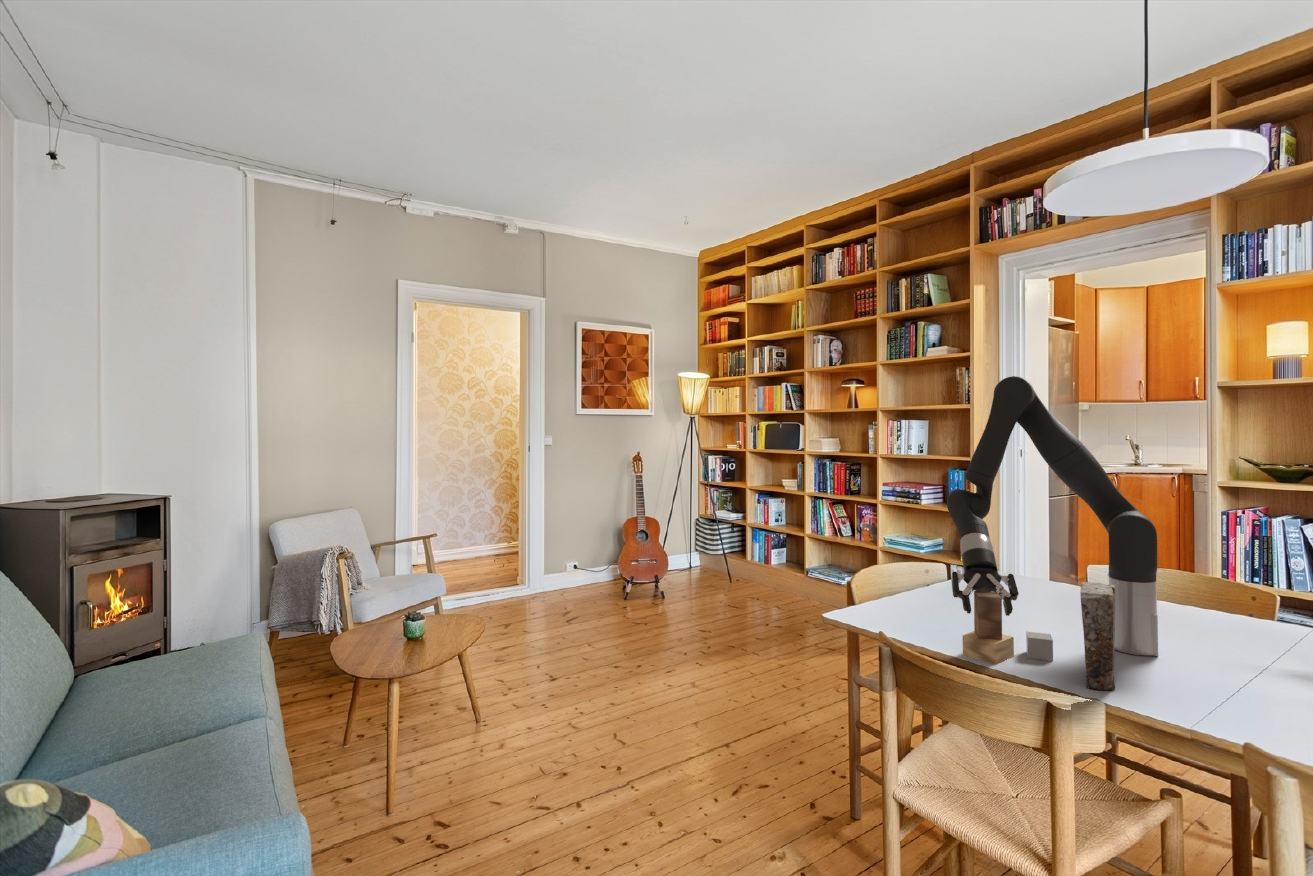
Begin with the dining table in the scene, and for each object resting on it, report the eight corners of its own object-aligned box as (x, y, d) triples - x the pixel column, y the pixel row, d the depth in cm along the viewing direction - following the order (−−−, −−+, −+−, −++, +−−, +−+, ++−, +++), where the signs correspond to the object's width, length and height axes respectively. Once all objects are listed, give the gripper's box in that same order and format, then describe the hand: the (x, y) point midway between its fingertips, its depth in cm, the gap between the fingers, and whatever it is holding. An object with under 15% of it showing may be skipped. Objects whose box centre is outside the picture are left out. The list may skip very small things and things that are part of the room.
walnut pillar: (997, 633, 153) (996, 592, 153) (1002, 640, 148) (1001, 597, 148) (974, 631, 154) (974, 590, 154) (978, 638, 150) (978, 596, 149)
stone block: (1078, 668, 142) (1076, 579, 142) (1116, 673, 139) (1114, 582, 139) (1082, 689, 131) (1080, 592, 131) (1124, 695, 127) (1122, 596, 127)
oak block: (1013, 658, 150) (1013, 637, 150) (996, 665, 146) (996, 644, 146) (980, 649, 157) (980, 628, 157) (962, 656, 152) (962, 635, 152)
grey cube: (1050, 654, 151) (1050, 634, 151) (1053, 661, 147) (1052, 640, 147) (1026, 652, 153) (1026, 631, 153) (1028, 658, 149) (1027, 637, 149)
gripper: (948, 545, 160) (957, 603, 149) (1011, 547, 156) (1025, 606, 145) (945, 562, 165) (954, 619, 154) (1006, 564, 161) (1019, 622, 150)
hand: (988, 613), depth 150 cm, fingers open, 8 cm apart
